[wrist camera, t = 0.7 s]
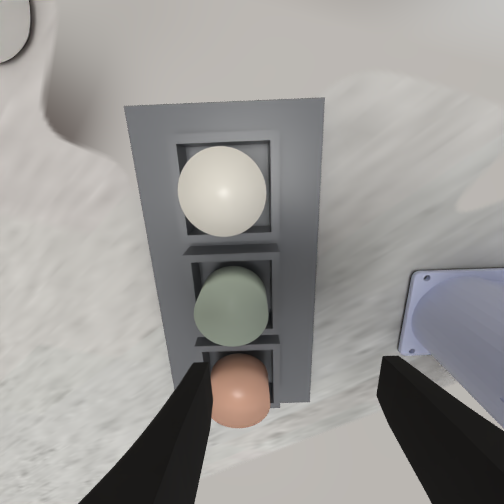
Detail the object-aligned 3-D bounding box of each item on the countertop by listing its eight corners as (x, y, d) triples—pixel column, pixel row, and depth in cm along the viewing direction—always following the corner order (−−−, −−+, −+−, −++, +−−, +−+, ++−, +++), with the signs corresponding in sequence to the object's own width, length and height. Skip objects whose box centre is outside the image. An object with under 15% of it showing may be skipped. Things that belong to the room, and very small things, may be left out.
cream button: (263, 148, 14) (265, 144, 11) (264, 225, 15) (267, 235, 13) (184, 151, 14) (172, 147, 11) (193, 228, 15) (183, 238, 13)
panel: (318, 103, 16) (335, 86, 13) (306, 388, 24) (315, 423, 20) (135, 111, 16) (104, 96, 13) (181, 391, 24) (170, 427, 20)
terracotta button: (267, 352, 18) (269, 378, 16) (268, 397, 20) (270, 427, 17) (208, 354, 18) (202, 380, 16) (213, 399, 20) (208, 429, 17)
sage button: (265, 264, 16) (268, 280, 14) (266, 322, 17) (269, 345, 15) (198, 266, 16) (189, 283, 14) (205, 324, 17) (197, 347, 15)
